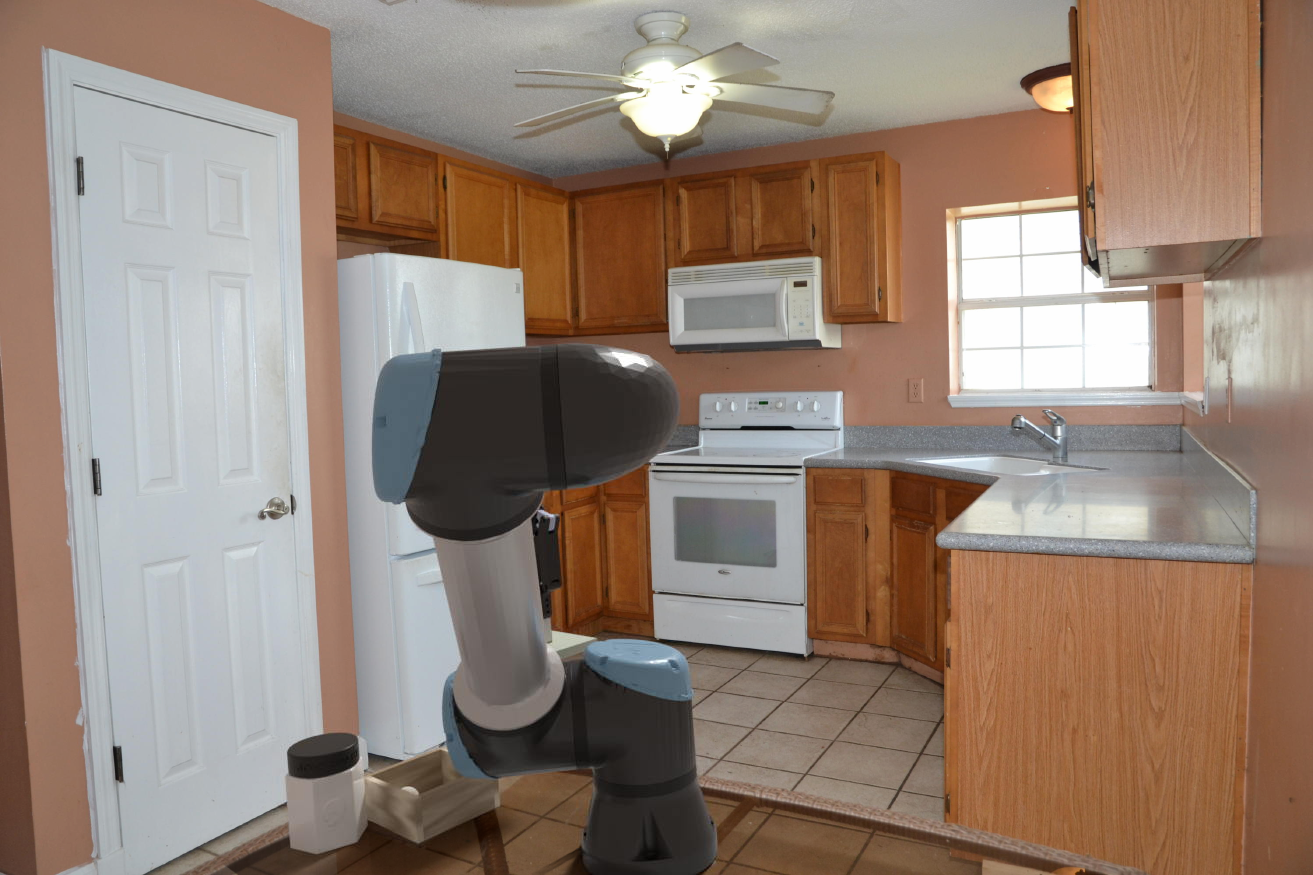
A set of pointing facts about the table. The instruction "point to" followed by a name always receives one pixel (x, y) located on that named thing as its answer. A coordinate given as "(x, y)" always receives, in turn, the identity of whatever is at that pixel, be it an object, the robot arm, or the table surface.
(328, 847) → the jar
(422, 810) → the box
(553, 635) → the lid
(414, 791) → the ball
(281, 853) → the table surface
